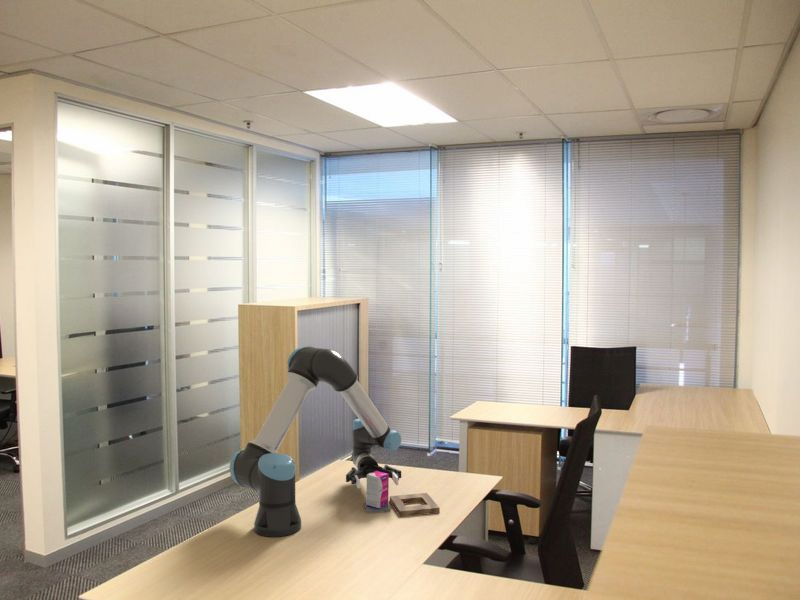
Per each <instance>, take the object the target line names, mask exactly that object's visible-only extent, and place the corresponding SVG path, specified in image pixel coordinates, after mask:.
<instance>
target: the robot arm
mask: <svg viewBox="0 0 800 600" xmlns="http://www.w3.org/2000/svg"><path fill="white" fill-rule="evenodd" d="M286 364H287V366H286V367H287V370H288V371H287V373H286V377H287V381H286V383H285V385H284V387H283V389H282V390H281V392H280V394H279V396H278V398H277V399H276V401H275V402H274V405H273V406H272V408H271V410H270V412H269V414H268V416H267V417H266V419H265V421H264V423H263V425H262V426H261V428H260V430H259V432H257V435H256V437H255V439H253V440H250V441H248V442H247V444H246V445H245V448H244V449H240V450H239V451H237V452H235V453H234V455H233V456H232V458H231V459H230V462H229V472H230V473H229V474H230V477H231V479H232V480H233V482H234V483H236V484H238V485H239V486H241V487H243V488H248V489H250V490H253V491H255V492H258V500H259V501H258V502H259V503H258V504H259V505H258V510H257V513H256V515H255V519H254V523H253V525H254V527H253V529H254V532H255V533H256V534H257V535H260V536H263V537H270V538H271V537H272V538H275V537H285V536H289V535H292V534H295V533H297V532H298V531H300V530H301V529H302V517H301V516H300V513H299V510H298V507H297V504H296V471H297V470H296V465H295V460H294V458H292V457H291V456H290V455H287V454H285V453H278V450H279V448H280V446H281V445H282V443H283V441H284V439H285V438H286V435H287V433H288V432H289V430H290V428H291V426H292V424H293V423H294V420H295V418H296V417H297V415H298V413H299V411H300V409H301V407H302V405H303V404H304V402H305V400H306V398H307V396H308V394H309V392H312V391H314V390H316V388H317V387H318V385H319V383H320V382H321V383H322V382H323V383H326V384H328V385H330V386H331V387H332V389H333V390H334V391H335V392H336V393H340V395H341V396H342V397H343V399H344V400H345V402H346V403H347V404H348V406H349V407H350V409H351V410H352V412H353V413H354V414H355V416H356V417H357V418H356V419H354V420H353V421H352V452H351V454H350V455H351V461H352V463H353V465H354V466H355V467H356V468H355V467H351V470H349V471H348V472H347V473H346V474H345V482H346V483H350V484H351V485H355V486H356V488H357V489H361V479H367V474H369V473H372V472H375V471H379V472H383V473H387V474H389V479H391V480H392V481H393V483H394V484H395V485H396V486H399V481H400V479H401V478H402V470H401V469H398V468H395V467H391V466H390V465H387V464H385V465H384V466H383V467H382V466H380V465H379V463H378V462H377V460H376V458H374V456H373V447H374V448H378V449H382V450H385V451H389V452H390V451H391V452H395V451H397V450H398V449H399V448H400V446H401V445H402V443H401V442H402V435H401V434H400V432H398V431H396V430H395V429H391V427H390V426H389V424H387V422H386V421H385V419H384V418H383V416H382V415H381V413H380V411H379V410H378V409H377V407H376V406H375V404H374V403H373V401H372V400H371V398H370V397H369V395H368V394H367V392H366V391H365V390H364V388H363V386H362V385H361V383H360V382H359V380H358V378H359V377H358V374H357V372H356V371H355V369H354V368H353V367H352V365H351V364H350V363H349V362H348V361H347V360H346V358H344V357H343V356H342V354H340V353H338V352H337V351H336V350H334V349H330V348H323V347H322V348H321V347H315V346H314V347H313V346H311V345H310V346H307V345H306V346H300V347H298V348H296V349H294V350H293V351H292V352H291V353H290V354H289V356H288V359H287V362H286Z"/></svg>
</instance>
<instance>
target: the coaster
mask: <svg viewBox="0 0 800 600" xmlns="http://www.w3.org/2000/svg"><path fill="white" fill-rule="evenodd" d="M363 507H364V509H365V508H366V509H365V511H366V510H367V511H366V513H367V512H368V513H367V514H370V513H369V512H375V513H382V512H381V511H386V512H391V507H390V506H389V504H388V505H387V506H385V507H382V508H380V509H374V508H371V507H367V506H366V502H364V503H363Z"/></svg>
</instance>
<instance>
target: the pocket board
mask: <svg viewBox="0 0 800 600" xmlns="http://www.w3.org/2000/svg"><path fill="white" fill-rule="evenodd" d="M389 502H390V504H391V503H392V504H391V505H392V507H393V506H394V507H393V508H394V509H396V510H395V511H396V513H397V512H398V513H397V514H398V515H400V516H401V517H408V516H410V515H411V516H419V515H420V514H422V515H428V514H427V513H432V514H440V506H439V505H438V504H437V503H436V502H435V501H434V499H433V498H432V497H431V496H430V495H429V493H428V492H422V493H412V494H402V495H401V494H399V495H389ZM416 502H417V503H422V505H421V504H419V505H409V506H406V504H415V503H416ZM405 503H406V504H405ZM417 503H416V504H417ZM400 516H399V517H400Z"/></svg>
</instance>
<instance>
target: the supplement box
mask: <svg viewBox="0 0 800 600" xmlns="http://www.w3.org/2000/svg"><path fill="white" fill-rule="evenodd" d="M389 479H390V478H389V474H387V473H383V472H379V471H375V472H372V473H369V474H367V478H366V490H365V491H366V493H365V494H366V496H365V498H366V499H365V501H366V502H365V503H366V506H367V507H371V508H374V509H380V508H382V507H385V506H387V505H388V506H389V483H390V481H389Z"/></svg>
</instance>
